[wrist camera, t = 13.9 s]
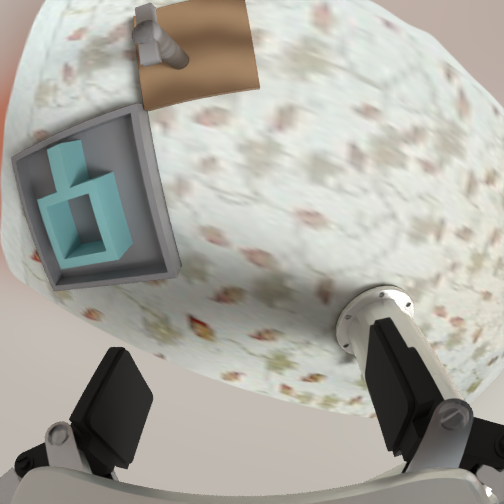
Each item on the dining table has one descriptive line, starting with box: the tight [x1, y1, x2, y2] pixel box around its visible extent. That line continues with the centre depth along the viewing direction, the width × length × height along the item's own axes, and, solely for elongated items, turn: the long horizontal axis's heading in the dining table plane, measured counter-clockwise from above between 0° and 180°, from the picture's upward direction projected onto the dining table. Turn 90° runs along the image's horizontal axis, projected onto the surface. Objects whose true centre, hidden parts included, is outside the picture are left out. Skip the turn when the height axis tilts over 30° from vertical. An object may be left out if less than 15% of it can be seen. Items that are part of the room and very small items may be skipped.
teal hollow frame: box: [37, 140, 133, 269], centre depth 28 cm, size 9×14×4 cm, turn 9°
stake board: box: [132, 0, 260, 111], centre depth 19 cm, size 12×12×12 cm
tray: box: [12, 103, 182, 291], centre depth 30 cm, size 20×20×3 cm
